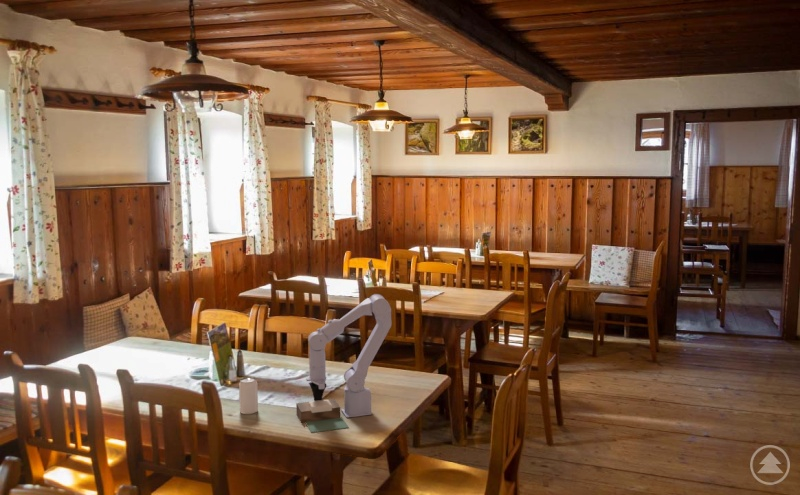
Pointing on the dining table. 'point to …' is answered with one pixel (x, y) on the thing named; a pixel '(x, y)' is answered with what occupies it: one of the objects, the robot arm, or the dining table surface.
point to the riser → (307, 415)
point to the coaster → (320, 406)
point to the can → (248, 396)
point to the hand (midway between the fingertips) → (318, 402)
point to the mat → (326, 425)
